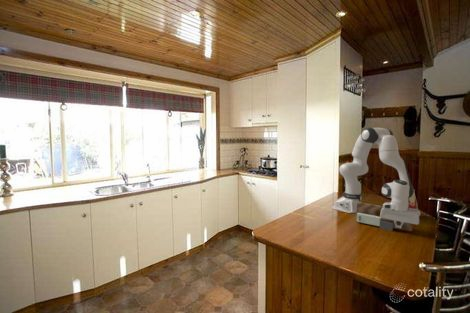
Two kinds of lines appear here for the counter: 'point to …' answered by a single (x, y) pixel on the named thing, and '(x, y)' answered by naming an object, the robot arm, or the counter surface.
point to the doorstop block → (386, 225)
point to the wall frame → (372, 210)
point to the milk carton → (412, 202)
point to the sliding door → (368, 219)
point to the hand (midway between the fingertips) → (398, 227)
